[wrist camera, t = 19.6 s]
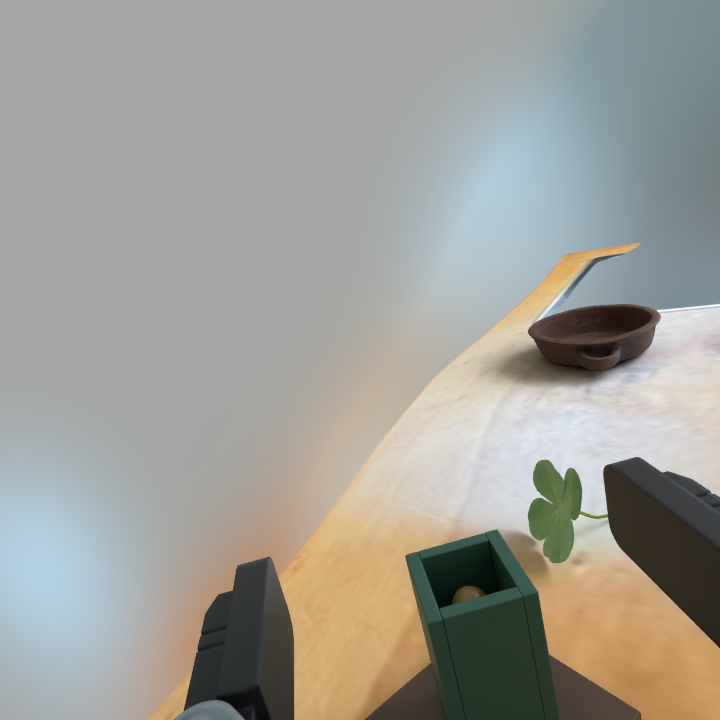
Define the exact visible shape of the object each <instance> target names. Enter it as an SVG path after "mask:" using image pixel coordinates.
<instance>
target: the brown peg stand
mask: <svg viewBox="0 0 720 720" xmlns="http://www.w3.org/2000/svg"><path fill="white" fill-rule="evenodd" d="M485 595H486V594H485V593H484V592H483V591H482V590H481V589H480V588H478V587H475V586H464V587H462V588H460V589H459V590H458V591H457V592H456V593H455V595H454V597H453V601H452V605H453V604H457V603H461V602H464V601H468V600H471V599H475V598H478V597H482V596H485ZM549 659H550V665H551V671H552V676H553V682H554V688H555V694H556V700H557V706H558V711H559V717H560V720H641V713H640V712H639V711H638V710H636V709H635V708H633V707H631V706H630V705H628V704H627V703H625V702H623V701H622V700H620V699H619V698H617V697H616V696H614V695H612V694H611V693H609V692H608V691H606V690H604V689H603V688H601V687H600V686H598V685H597V684H595V683H593V682H592V681H590V680H589V679H587V678H585V677H584V676H582V675H581V674H579V673H578V672H576V671H574V670H573V669H571V668H570V667H568V666H566V665H565V664H563V663H562V662H560V661H559V660H557V659H555V658H554V657H552V656H551V655H549ZM365 720H447V718H446V715H445V712H444V708H443V705H442V702H441V698H440V695H439V692H438V688H437V684H436V680H435V676H434V672H433V668H432V664H431V663H430V664H429V665H428V666H426V667H425V668H424V669H423V670H422V671H421V672H419V673H418V674H417V675H416V676H415V677H414V678H412V679H411V680H410V681H409V682H408V683H407V684H405V685H404V686H403V687H402V688H401V689H400V690H398V691H397V692H396V693H395V694H394V695H393V696H391V697H390V698H389V699H388V700H387V701H386V702H384V703H383V704H382V705H381V706H380V707H379V708H378V709H376V710H375V711H374V712H373V713H372V714H371V715H369V716H368V717H367V718H366V719H365Z"/></svg>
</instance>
